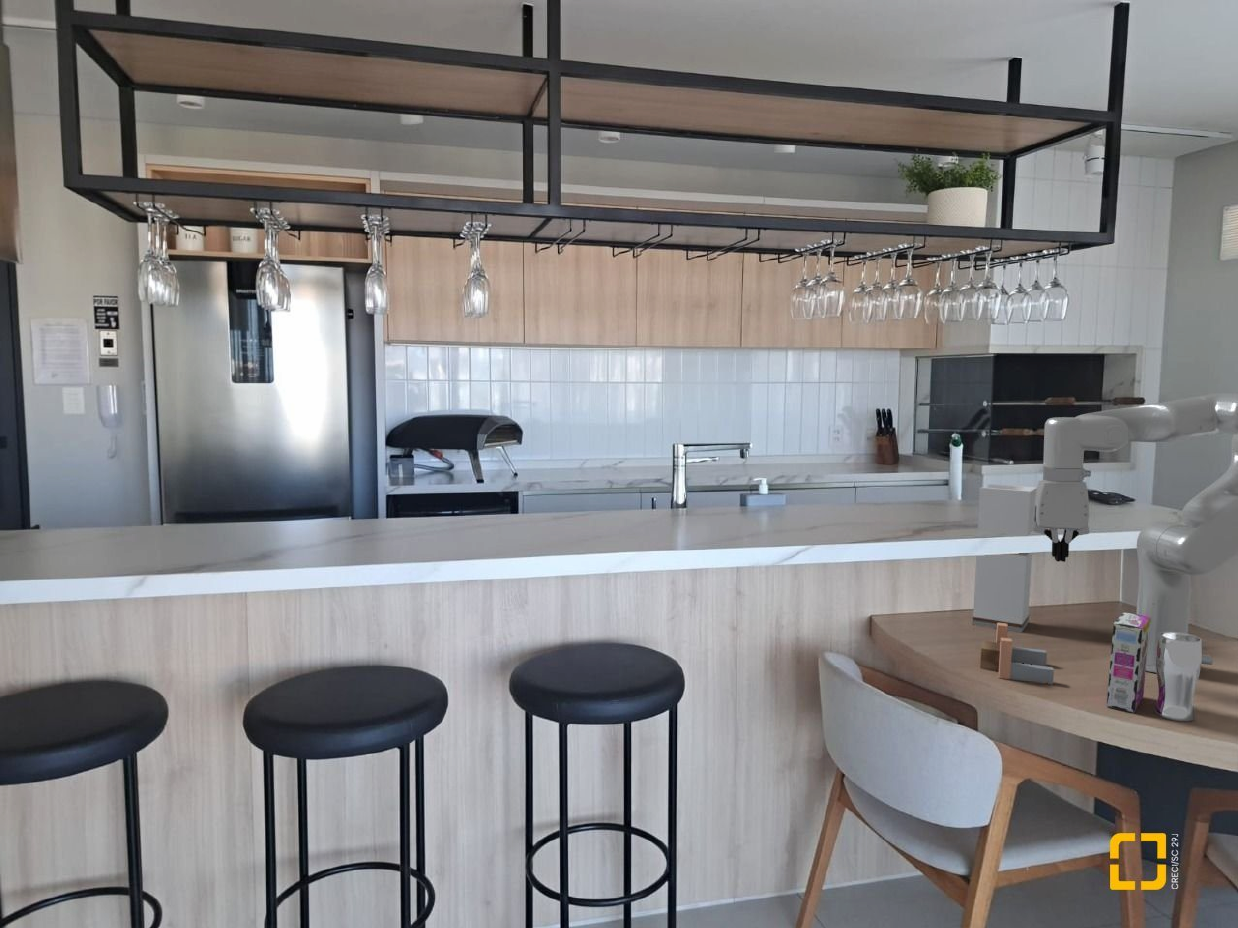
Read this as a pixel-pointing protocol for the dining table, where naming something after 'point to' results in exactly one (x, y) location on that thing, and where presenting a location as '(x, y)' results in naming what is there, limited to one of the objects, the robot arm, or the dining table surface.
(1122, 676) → the milk carton
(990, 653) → the walnut block
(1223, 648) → the dining table surface
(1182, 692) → the beer glass
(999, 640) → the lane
